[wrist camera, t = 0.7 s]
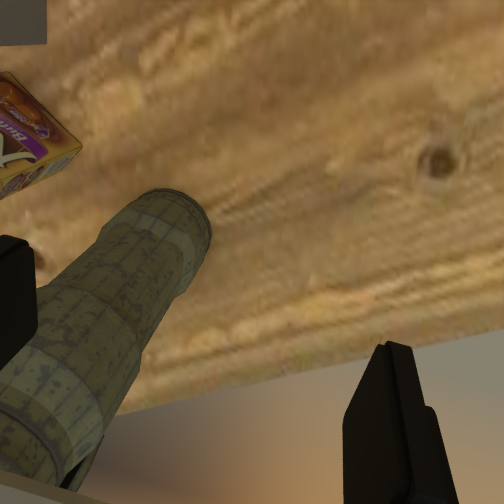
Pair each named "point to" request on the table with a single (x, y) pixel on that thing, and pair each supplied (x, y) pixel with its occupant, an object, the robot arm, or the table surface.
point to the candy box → (29, 140)
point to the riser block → (22, 22)
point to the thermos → (96, 336)
